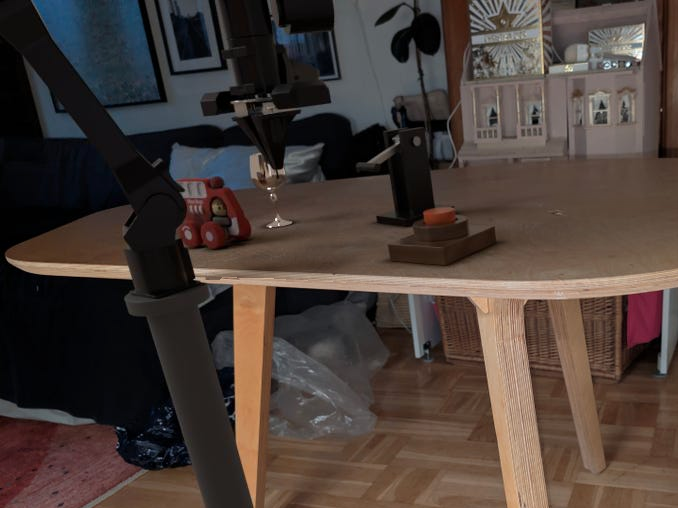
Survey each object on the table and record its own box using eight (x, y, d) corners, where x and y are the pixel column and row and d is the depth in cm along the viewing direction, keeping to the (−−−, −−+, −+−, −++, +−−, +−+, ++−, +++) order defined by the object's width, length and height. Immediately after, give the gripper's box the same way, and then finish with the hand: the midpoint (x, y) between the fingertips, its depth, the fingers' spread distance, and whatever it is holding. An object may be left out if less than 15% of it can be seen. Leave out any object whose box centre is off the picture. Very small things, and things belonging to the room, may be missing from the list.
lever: (378, 176, 104) (371, 161, 103) (359, 175, 108) (352, 161, 106) (424, 144, 109) (418, 129, 107) (405, 144, 112) (398, 130, 111)
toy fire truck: (229, 250, 106) (211, 180, 102) (176, 247, 112) (158, 181, 108) (263, 239, 111) (248, 172, 107) (211, 237, 117) (195, 173, 113)
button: (443, 228, 87) (441, 214, 86) (418, 227, 89) (416, 213, 88) (462, 221, 90) (460, 207, 89) (438, 220, 92) (436, 206, 91)
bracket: (406, 226, 108) (392, 133, 103) (376, 222, 114) (362, 134, 108) (455, 213, 114) (444, 124, 109) (424, 210, 120) (413, 125, 114)
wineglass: (255, 228, 120) (238, 156, 116) (276, 220, 125) (261, 151, 121) (282, 228, 118) (266, 154, 114) (302, 220, 123) (288, 149, 118)
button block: (445, 265, 84) (441, 232, 83) (390, 260, 89) (385, 229, 88) (496, 242, 92) (493, 212, 91) (442, 239, 97) (439, 210, 96)
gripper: (351, 27, 86) (372, 158, 92) (255, 44, 96) (280, 160, 102) (280, 29, 78) (308, 173, 84) (184, 47, 88) (215, 174, 94)
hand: (278, 169), depth 91 cm, fingers closed
